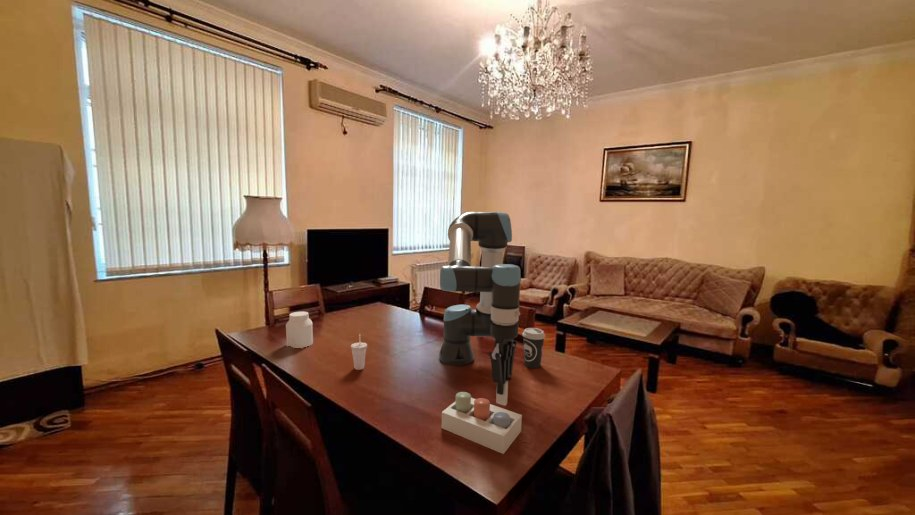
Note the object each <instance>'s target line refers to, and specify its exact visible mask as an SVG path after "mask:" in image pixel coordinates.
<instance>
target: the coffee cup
mask: <svg viewBox="0 0 915 515" xmlns="http://www.w3.org/2000/svg"><path fill="white" fill-rule="evenodd" d="M521 336H522V337H523V338H522V339H523V356H524V357H523V358H524V366H525V367H527V368H530V369H538V368H540V367H541V364H542V356H543V350H544V349H543V348H544V343H545V338H546V333H544V330H543V329H542V328H536V327H527V328H525V329H524V330H523V332H522V334H521Z"/></svg>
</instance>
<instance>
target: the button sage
mask: <svg viewBox="0 0 915 515" xmlns="http://www.w3.org/2000/svg"><path fill="white" fill-rule="evenodd" d="M471 398H472V395H471V393H469V392H466V391H460V392H457V393H456V394H455V401H456V403H455V410H457V411H459V412H462V413H465V414H467V413H468V412H469V411H470V410H471Z"/></svg>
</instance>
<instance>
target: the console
mask: <svg viewBox="0 0 915 515" xmlns="http://www.w3.org/2000/svg"><path fill="white" fill-rule="evenodd" d="M476 399H477V398H473V397H471V410H470V411H469V412H468V413H467V414H465V413H462V412H459V411H457V410H455V403H456V400H455V401H454V402H453V403H451V404H450V405H449V406H448V407H447V408H445V409H444V410H442V412H441V429H442V430H445V431H448V432H449V433H450V432H451V433H452V434H455V435H456V436H457V435H458V436H460V437H462V438H464V439H466V440H469V441H472V442H473V443H476V444H479V445H481V446H483V447H486V448H487V449H491V450H492V451H495V452H497V453H500V454H502V455H504V454H505V453H506V451H507V450H508V449H509V447H510V446H511V445H512V444H513V442H514V441H515V440H516V439H517V437H518V436H519V435H520V434H521V432H522V420H523V414H520V413H517V412H514V411H511V410H509V409H505V408H504V407H500V406H497V405H494V404H491V403H490V417H489V418H488V419H487V420H486V421H483V420H481V419H478V418H475V417H474V401H475V400H476ZM497 412H504V413H507V414H508V415H509V416H510V426H509V427H508V428H507V429H505V428H502V427H499V426H497V425H494V424H493V418H494V414H495V413H497Z"/></svg>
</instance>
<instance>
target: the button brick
mask: <svg viewBox="0 0 915 515" xmlns="http://www.w3.org/2000/svg"><path fill="white" fill-rule="evenodd" d="M475 399H476V400H475V401H474V417H475V418H478V419H481V420H483V421H486V420H487V419H488V418H489V417H490V404H491V402H490V400H489V399H488V398H484V397H479V398H475Z"/></svg>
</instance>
